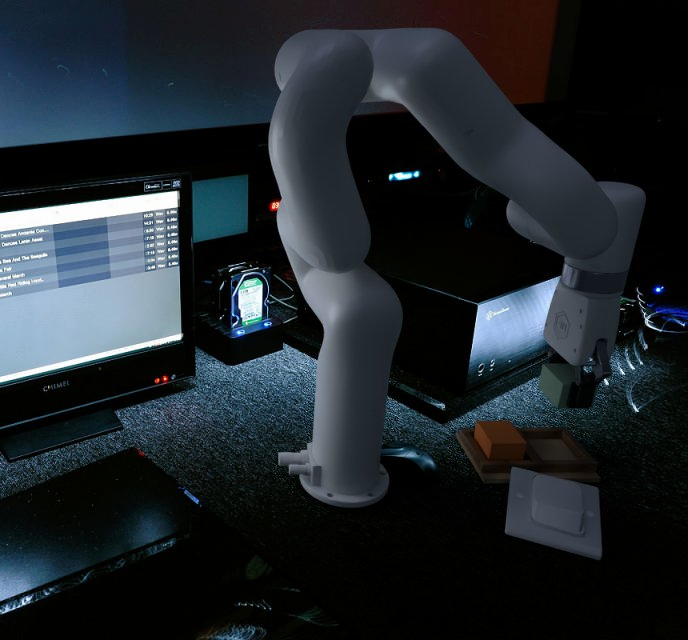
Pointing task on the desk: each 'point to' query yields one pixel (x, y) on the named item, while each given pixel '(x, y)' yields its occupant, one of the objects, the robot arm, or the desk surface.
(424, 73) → the robot arm
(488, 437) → the orange block
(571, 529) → the light switch
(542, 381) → the green rectangular block
